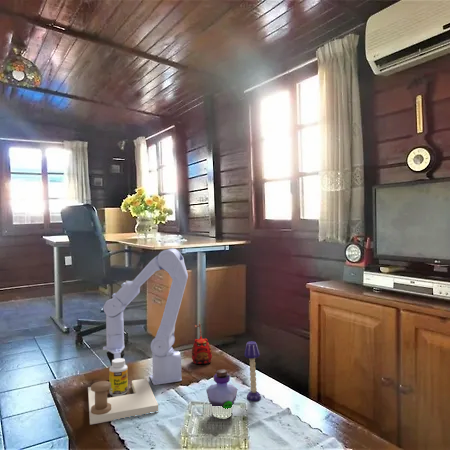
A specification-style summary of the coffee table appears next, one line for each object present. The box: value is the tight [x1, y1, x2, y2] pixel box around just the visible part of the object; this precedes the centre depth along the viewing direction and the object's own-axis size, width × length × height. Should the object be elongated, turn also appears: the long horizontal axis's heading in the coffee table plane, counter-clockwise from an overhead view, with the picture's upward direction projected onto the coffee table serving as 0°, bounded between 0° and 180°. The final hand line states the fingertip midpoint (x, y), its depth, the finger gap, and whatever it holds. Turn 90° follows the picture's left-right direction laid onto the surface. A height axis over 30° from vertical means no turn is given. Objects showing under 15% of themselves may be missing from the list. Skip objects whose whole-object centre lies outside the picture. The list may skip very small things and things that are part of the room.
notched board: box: [87, 378, 159, 426], centre depth 113 cm, size 18×20×9 cm
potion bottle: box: [205, 369, 238, 409], centre depth 105 cm, size 9×9×12 cm
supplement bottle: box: [108, 357, 129, 397], centre depth 119 cm, size 6×6×10 cm
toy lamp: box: [243, 340, 262, 402], centre depth 115 cm, size 5×5×17 cm
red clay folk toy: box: [191, 320, 213, 365], centre depth 146 cm, size 8×7×15 cm
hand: (115, 373), depth 131 cm, fingers closed
